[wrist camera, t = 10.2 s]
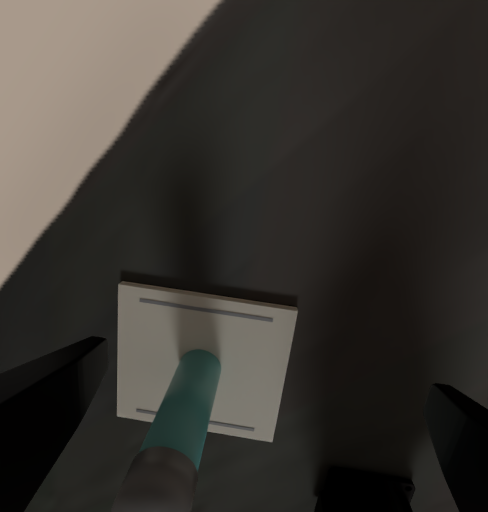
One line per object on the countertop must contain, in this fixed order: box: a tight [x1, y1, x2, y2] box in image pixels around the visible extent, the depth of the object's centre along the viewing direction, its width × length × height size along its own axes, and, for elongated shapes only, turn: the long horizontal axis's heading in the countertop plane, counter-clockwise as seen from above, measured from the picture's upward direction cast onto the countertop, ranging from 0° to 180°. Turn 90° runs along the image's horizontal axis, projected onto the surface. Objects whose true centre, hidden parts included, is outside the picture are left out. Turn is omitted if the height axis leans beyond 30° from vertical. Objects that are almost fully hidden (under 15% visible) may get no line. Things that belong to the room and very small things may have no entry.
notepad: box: [117, 281, 298, 442], centre depth 23 cm, size 12×11×1 cm
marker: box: [111, 349, 221, 512], centre depth 18 cm, size 3×3×10 cm
